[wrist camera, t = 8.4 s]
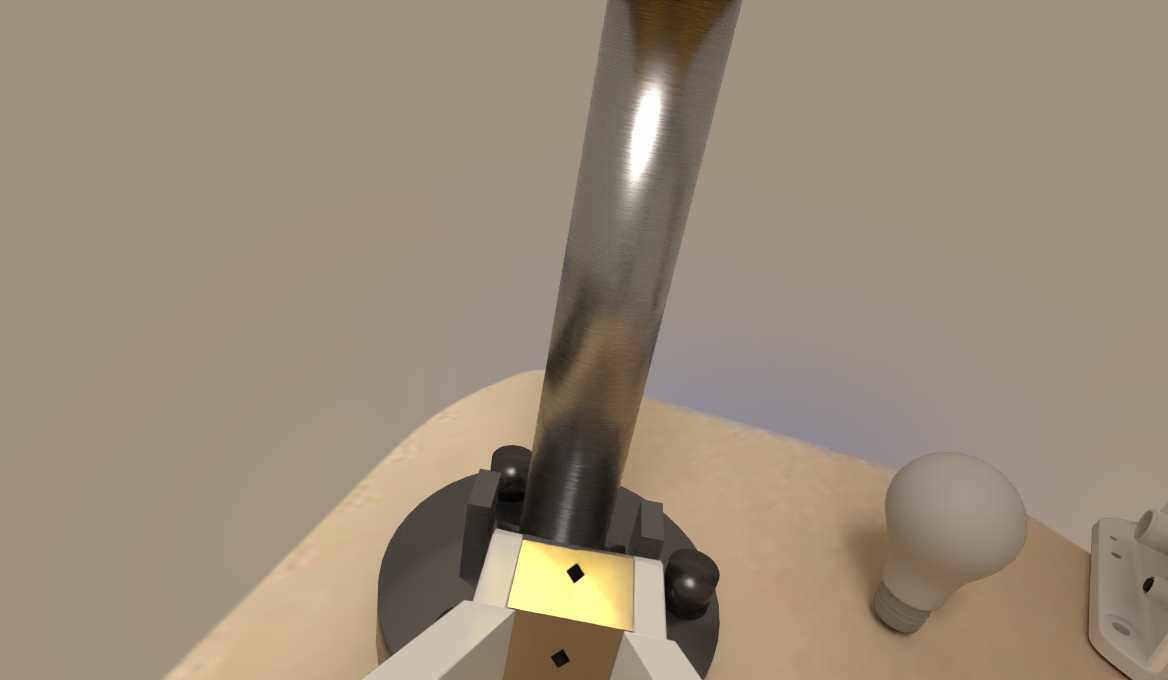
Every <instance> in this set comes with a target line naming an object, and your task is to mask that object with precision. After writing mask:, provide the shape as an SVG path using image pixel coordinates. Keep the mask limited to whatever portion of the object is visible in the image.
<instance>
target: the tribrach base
mask: <svg viewBox="0 0 1168 680" xmlns="http://www.w3.org/2000/svg"><path fill="white" fill-rule="evenodd" d="M531 455H532V452H531V451H530V450H528V449H526V448H524V447H521V446H516V445H508V446H503V447H500V448H498V449H497V450H496V451H495V452H494V453H493V456H492V462H491V470H490V471H489V470H484V469H480V471H479V473H478V474H475V475H471V476H468V477H465V478H463V479H461V480H458V481H456V482H454V483H451V484H449V485H447V486H446V487H444V488H442V489H440V490H438V491H437V492H435V493H434V494H432V495H431V496H430V497H428V498H427V499H425V500H424V501H423V502H421V503H420V504H419V505H418V506H417V507H416V508H415V509H414V510H413V511H412V512H411V513H410V514H409V515H408V516H407V517H406V518H405V520H404V521H403V522H402V523H401V525H400V526H399V527H398V529H397V530H396V532H395V534H394V535H393V537H392V539H391V540H390V542H389V544H388V547H387V549H386V552H385V555H384V557H383V560H382V564H381V569H380V574H379V582H378V607H377V634H376V646H377V654H378V663H379V666H380V665H381V664H382V663H384V662H385V661H386V660H387V659H389V658H390V657H391V656H393V655H394V654H395V653H396V652H398V651H399V650H400V649H402V648H403V647H404V646H405V645H407V644H408V643H409V642H411V641H412V640H413V639H415V638H416V637H417V636H418V635H420V634H421V633H422V632H424V631H425V630H426V629H427V628H429V627H430V626H431V625H433V624H434V623H435V622H436V621H438V620H439V619H440V618H442V617H443V616H444V615H445V614H447V613H448V612H449V611H451V610H452V609H453V608H454V607H456V606H457V605H458V604H460V603H461V602H462V601H464V600H467V601H473V599H474V595H475V592H476V589H477V585H478V582H479V579H480V575H481V572H482V569H483V565H484V562H485V559H486V555H487V552H488V549H489V545H490V542H491V539H492V535H493V533H494V531H495V530H496V529H497V526H498V523H499V521H500V522H505V523H510V524H515V525H520V521H521V515H522V509H523V503H524V497H525V491H526V485H527V479H528V473H529V467H530V461H531ZM606 542H611V543H616V544H621V545H625V555H630V556H632V557H633V556H636V557H642V558H647V559H653V560H658V561H661V562H662V564H663V571H664V592H665V613H666V633H667V640H671V641H675V642H676V643H677V645H678V646H679V647H680V649H681V650H682V652H683V653H684V655H685V656H686V657H687V659H688V660H689V662H690V663H691V665H692V666H693V668H694V669H695V670H696V672H697V673H698V675H699V676H700V678H701V679H702V680H705V678H706V675H707V673H708V670H709V668H710V665H711V663H712V660H713V657H714V653H715V650H716V646H717V642H718V634H719V624H720V621H719V605H718V600H717V596H716V591H715V589H716V586H717V583H718V581H719V576H720V575H719V570H718V567H717V565H716V564H715V563H714V561H713V560H712V559H711V558H709V557H708V556H707V555H705V554H704V553H702V552H699V551H697V549H696V548H695V546H694V545H693V543H692V542H691V541H690V539H689V538H688V537H687V536H686V535H685V534H684V532H683V531H682V530H681V529H680V528H679V527H678V526H677V525H676V524H675V523H674V522H673V521H672V520H671V519H670V518H669V517H668V516H667V515H666V514H664V513H663V504H662V503H658V502H653V501H647V500H645V499H643V498H642V497H640V496H639V495H637V494H635V493H633V492H631V491H630V490H628V489H626V488H624V487H622V486H620V487H619V491H618V495H617V499H616V503H615V507H614V511H613V515H612V519H611V523H610V527H609V531H608V535H607V538H606Z"/></svg>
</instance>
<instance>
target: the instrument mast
mask: <svg viewBox="0 0 1168 680" xmlns="http://www.w3.org/2000/svg"><path fill="white" fill-rule="evenodd" d="M741 3H742V0H607V6H606V12H605V18H604V24H603V30H602V36H601V42H600V48H599V54H598V60H597V66H596V72H595V78H594V84H593V90H592V96H591V102H590V108H589V113H588V120H587V126H586V132H585V137H584V143H583V150H582V156H581V162H580V168H579V174H578V179H577V185H576V191H575V198H574V203H573V210H572V215H571V221H570V227H569V233H568V239H567V246H566V252H565V258H564V263H563V269H562V275H561V281H560V287H559V293H558V300H557V305H556V311H555V317H554V323H553V329H552V335H551V341H550V347H549V353H548V359H547V365H546V371H545V377H544V383H543V389H542V395H541V401H540V407H539V413H538V419H537V425H536V431H535V437H534V443H533V449H532V455H531V461H530V467H529V473H528V479H527V485H526V491H525V497H524V503H523V509H522V515H521V521H520V525H515V524H510V523H505V522H500V521H499V523H498V526H497V529H501V530H505V531H509V532H514V533H518V534H522V535H523V537H524V534H526V535H530V536H535V537H539V538H544V539H548V540H553V541H557V542H562V543H566V544H571V545H575V546H582V547H587V548H592V549H598V550H603V551H608V552H614V553H619V554H624V555H625V545H621V544H616V543H611V542H606V538H607V535H608V531H609V527H610V523H611V519H612V515H613V511H614V507H615V503H616V499H617V495H618V491H619V487H620V483H621V479H622V475H623V471H624V467H625V463H626V459H627V455H628V451H629V447H630V443H631V440H632V436H633V432H634V428H635V424H636V420H637V416H638V412H639V408H640V404H641V400H642V396H643V392H644V388H645V384H646V380H647V376H648V372H649V368H650V364H651V360H652V356H653V352H654V348H655V345H656V341H657V337H658V333H659V328H660V325H661V321H662V317H663V313H664V309H665V305H666V301H667V296H668V293H669V289H670V285H671V281H672V277H673V273H674V269H675V265H676V261H677V257H678V253H679V250H680V246H681V242H682V237H683V234H684V229H685V226H686V222H687V218H688V214H689V210H690V206H691V202H692V198H693V194H694V190H695V186H696V182H697V178H698V174H699V170H700V166H701V162H702V158H703V155H704V151H705V147H706V143H707V139H708V135H709V131H710V127H711V123H712V119H713V115H714V111H715V107H716V103H717V99H718V95H719V91H720V87H721V83H722V79H723V75H724V71H725V67H726V63H727V59H728V55H729V51H730V48H731V44H732V39H733V36H734V32H735V28H736V24H737V20H738V16H739V12H740V8H741Z"/></svg>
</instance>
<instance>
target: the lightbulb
mask: <svg viewBox="0 0 1168 680" xmlns="http://www.w3.org/2000/svg"><path fill="white" fill-rule="evenodd" d="M885 514H886V524H887V529H888V534H889V551H888V555H887V560H886V562H885V565H884V567H883V570H882V579H883V580H882V581H881V584H880V587H879V588H878V591H877V593H876V595H875V598H874V601H873V605H874V608H875V611H876V613H877V615H878V616H879V617H880V619H881V620H882V621H883V622H885V623H886V624H887V625H888V626H890V627H892V628H893V629H895V630H898V631H901V632H906V633H908V632H915V631H917V630H918V629H919V628H920V627H921V625H922V624H923V623H924V622H925V621H926V619H927V618H928V617H929V615H930V613H931V611H933V610H936V609H938V608H939V607H941V606H942V604H943V603H944V602H945V600H946V599H947V598H948V597H949V596H950V595H951V594H952V593H953V592H954V591H955V590H956V589H958V588H959V587H961V586H963V585H964V584H966V583H969V582H973V581H976V580H979V579H982V578H985V577H987V576H989V575H992V574H994V573H996V572H999V571H1000V570H1002V569H1003V568H1005V567H1006V566H1007V565H1008V564H1010V563H1011V562H1012V561H1013V560H1014V559H1015V558H1016V556H1017V555H1018V553H1019V552H1020V550H1021V548H1022V547H1023V544H1024V541H1025V538H1026V530H1027V516H1026V511H1025V508H1024V504H1023V502H1022V500H1021V497H1020V495H1019V493H1018V491H1017V490H1016V488H1015V487H1014V486H1013V485H1012V483H1011V482H1010V481H1009V480H1008V479H1007V478H1006V477H1005V476H1004V475H1003V474H1002V473H1001V472H1000V471H998V470H996V468H994V467H993V466H991V465H990V464H988V463H986V462H984V461H983V460H980V459H978V458H975V457H972V456H968V455H965V454H961V453H950V452H938V453H933V454H928V455H925V456H922V457H920V458H917V459H915V460H913V461H911V462H909V463H908V464H907V465H906V466H904V467H903V468H902V469H901V470H900V471H899V472H898V473H897V474H896V475H895V476H894V478H893V479H892V482H891V484H890V486H889V488H888V490H887V494H886V500H885Z"/></svg>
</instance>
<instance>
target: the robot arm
mask: <svg viewBox="0 0 1168 680" xmlns="http://www.w3.org/2000/svg"><path fill="white" fill-rule="evenodd" d="M1089 639H1090V642H1091V643H1092V645H1093V646H1094V647H1095V649H1096V650H1097V651H1098V652H1099V653H1100V654H1101V655H1102V656H1104V657H1105V658H1106V659H1107V660H1108V661H1109V662H1111V663H1112V664H1113V665H1114V666H1116V667H1117V668H1118V669H1119V670H1121V671H1122V672H1123V673H1125V674H1126V675H1127V676H1128V677H1130V678H1131V679H1132V680H1168V503H1167V504H1166V505H1165V506H1164V508H1162V510H1161V511H1157V510H1155V509H1154V510H1152V509H1149V510H1148V511H1146V512H1145V513H1144V514H1143V516H1142V517H1141V518H1140V520H1139V522H1138V523H1137V522H1132V521H1127V520H1121V519H1113V518H1101V519H1100V520H1099V521H1098V522H1097V523H1096V524H1095V525H1094V526H1093V528H1092V543H1091V574H1090V604H1089ZM362 680H702V679H701V678H700V676H699V675H698V673H697V672H696V670H695V669H694V668H693V666H692V665H691V663H690V662H689V660H688V659H687V657H686V656H685V655H684V653H683V652H682V650H681V649H680V647H679V646H678V645H677V643H676V642H675V641H671V640H667V633H666V613H665V592H664V571H663V564H662V562H661V561H658V560H653V559H647V558H642V557H636V556H633V557H632V556H630V555H624V554H619V553H614V552H608V551H603V550H598V549H592V548H587V547H582V546H575V545H571V544H566V543H562V542H557V541H553V540H548V539H544V538H539V537H535V536H530V535H526V534H524V537H523V535H522V534H518V533H514V532H509V531H505V530H501V529H496V530H495V531H494V533H493V535H492V539H491V542H490V545H489V549H488V552H487V555H486V559H485V562H484V565H483V569H482V572H481V575H480V579H479V582H478V585H477V589H476V592H475V595H474V599H473V601H467V600H464V601H462V602H461V603H460V604H458V605H457V606H456V607H454V608H453V609H452V610H451V611H449V612H448V613H447V614H445V615H444V616H443V617H442V618H440V619H439V620H438V621H436V622H435V623H434V624H433V625H431V626H430V627H429V628H427V629H426V630H425V631H424V632H422V633H421V634H420V635H418V636H417V637H416V638H415V639H413V640H412V641H411V642H409V643H408V644H407V645H405V646H404V647H403V648H402V649H400V650H399V651H398V652H396V653H395V654H394V655H393V656H391V657H390V658H389V659H387V660H386V661H385V662H384V663H382V664H381V665H380V666H378V667H377V668H376V669H375V670H373V671H372V672H371V673H369V674H368V675H367V676H366V677H364V678H363V679H362Z"/></svg>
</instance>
